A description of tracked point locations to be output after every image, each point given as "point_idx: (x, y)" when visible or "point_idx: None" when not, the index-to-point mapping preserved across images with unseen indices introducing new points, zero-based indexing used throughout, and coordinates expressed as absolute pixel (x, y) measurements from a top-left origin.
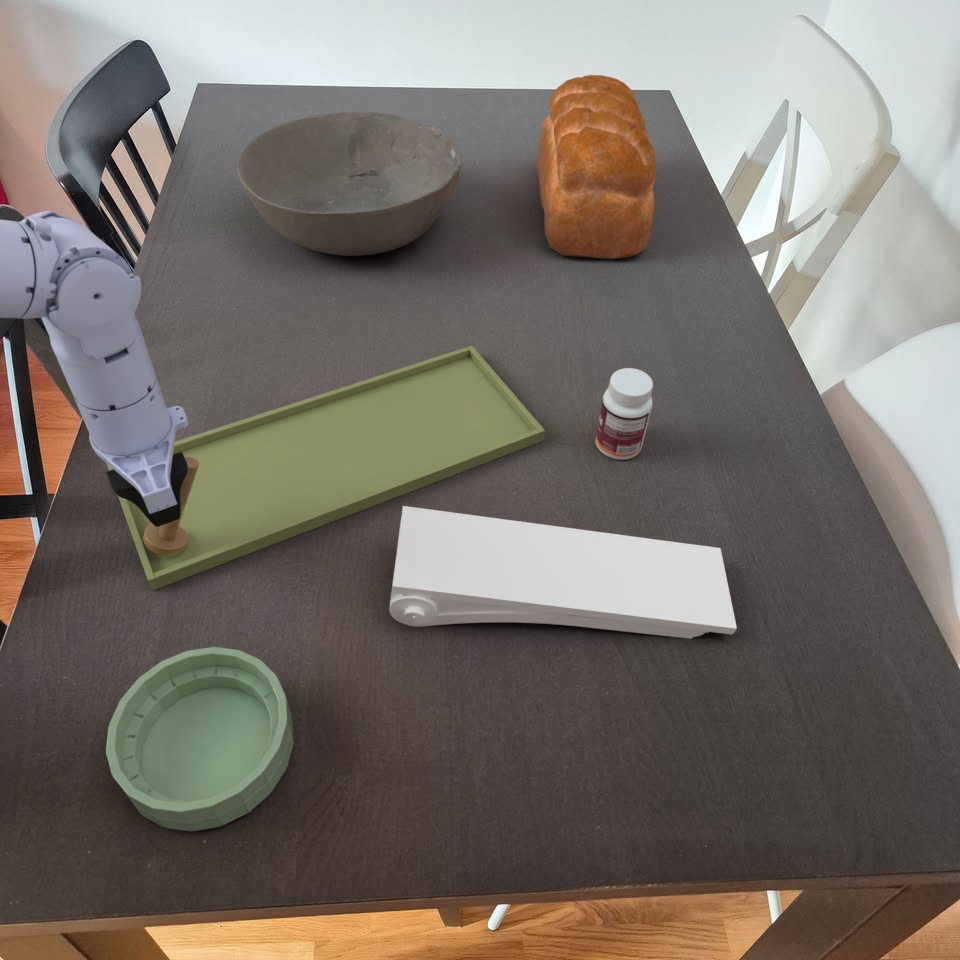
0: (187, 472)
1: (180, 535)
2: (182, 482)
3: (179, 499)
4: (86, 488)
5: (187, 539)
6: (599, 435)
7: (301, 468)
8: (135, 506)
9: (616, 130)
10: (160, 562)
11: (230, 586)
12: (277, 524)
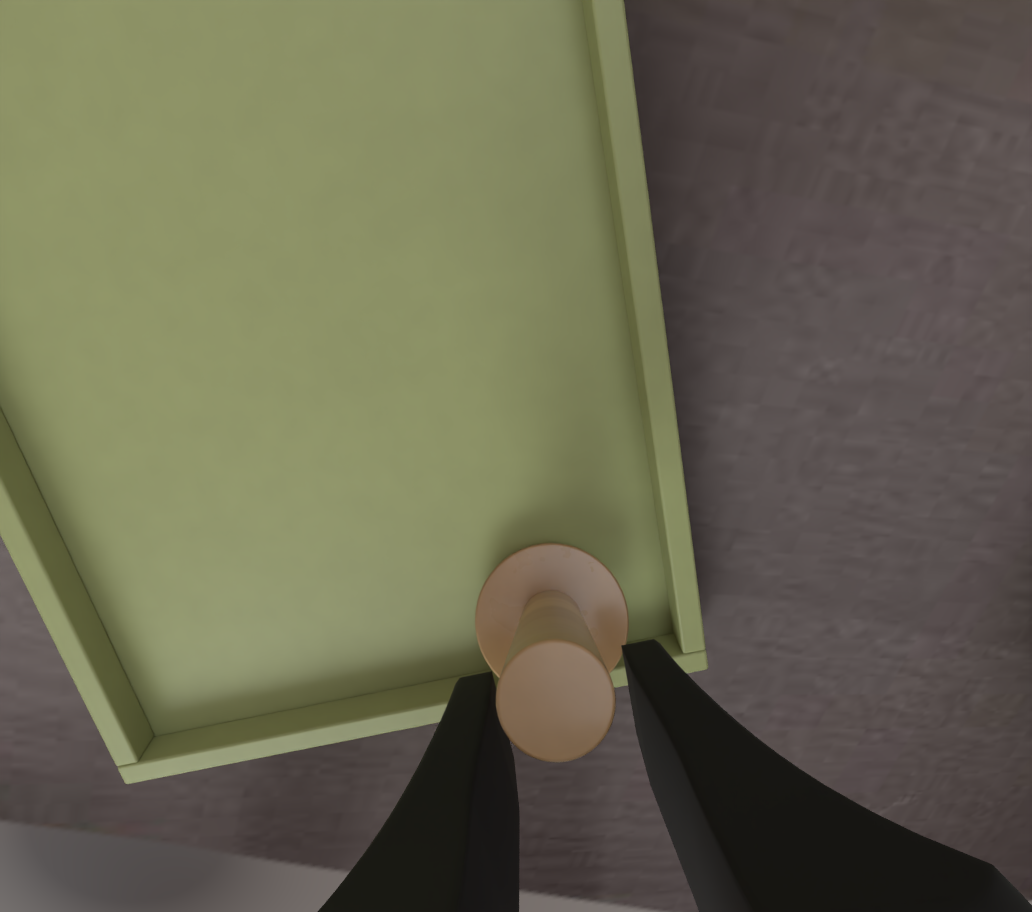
0: (1000, 875)
1: (547, 570)
2: (871, 812)
3: (724, 711)
4: (207, 803)
5: (565, 546)
6: None
7: (234, 16)
8: (332, 684)
9: None
10: None
11: (768, 411)
12: (559, 198)
